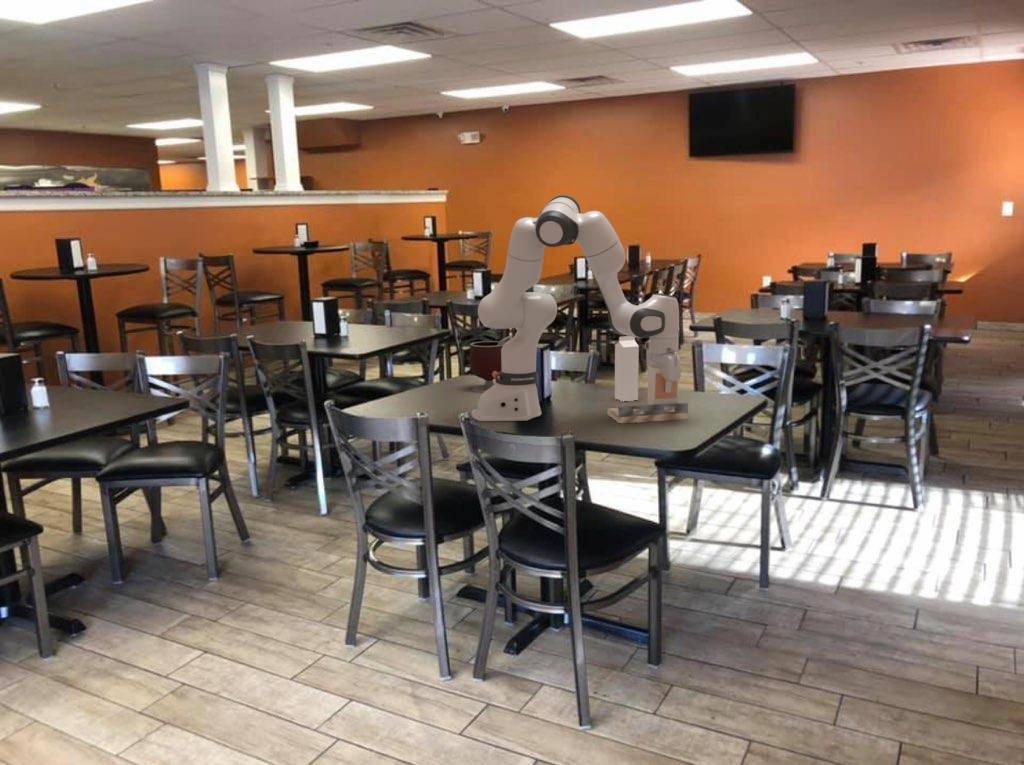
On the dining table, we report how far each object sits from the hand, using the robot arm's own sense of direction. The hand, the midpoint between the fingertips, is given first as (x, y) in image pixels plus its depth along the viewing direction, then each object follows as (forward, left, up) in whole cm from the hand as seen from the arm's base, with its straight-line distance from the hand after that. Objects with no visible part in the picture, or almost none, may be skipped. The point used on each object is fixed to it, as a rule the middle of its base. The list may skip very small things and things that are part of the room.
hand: (663, 390), depth 262 cm
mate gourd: (-45, +57, -9) cm, 73 cm away
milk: (-3, +27, -9) cm, 28 cm away
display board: (-5, +1, -9) cm, 10 cm away
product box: (0, 0, -5) cm, 5 cm away
